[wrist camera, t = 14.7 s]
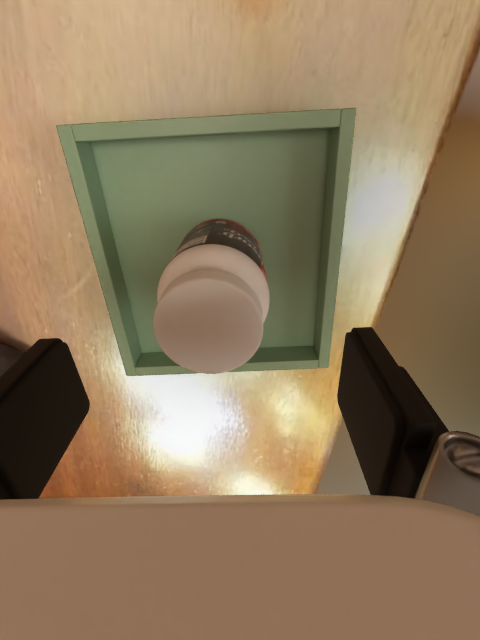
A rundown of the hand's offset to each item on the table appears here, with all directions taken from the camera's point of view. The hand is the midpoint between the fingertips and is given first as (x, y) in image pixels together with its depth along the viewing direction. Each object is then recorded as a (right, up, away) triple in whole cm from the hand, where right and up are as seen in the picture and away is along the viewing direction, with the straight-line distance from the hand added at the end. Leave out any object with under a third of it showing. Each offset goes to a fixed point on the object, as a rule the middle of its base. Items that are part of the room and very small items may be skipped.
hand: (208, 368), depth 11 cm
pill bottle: (0, +6, +11) cm, 13 cm away
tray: (0, +6, +12) cm, 13 cm away
